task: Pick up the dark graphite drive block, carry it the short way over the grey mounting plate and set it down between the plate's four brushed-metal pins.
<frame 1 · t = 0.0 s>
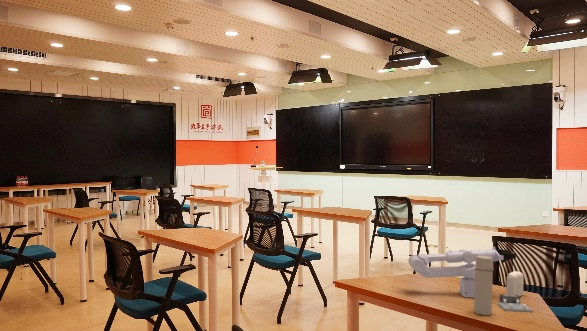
hand: (512, 254, 221), 22 cm above the table, tool horizontal, fingers open, 7 cm apart
drive: (509, 303, 211), on the table
photo printer: (514, 296, 224), on the table
grey mounting plate: (514, 308, 203), on the table
water bottle: (483, 313, 196), on the table
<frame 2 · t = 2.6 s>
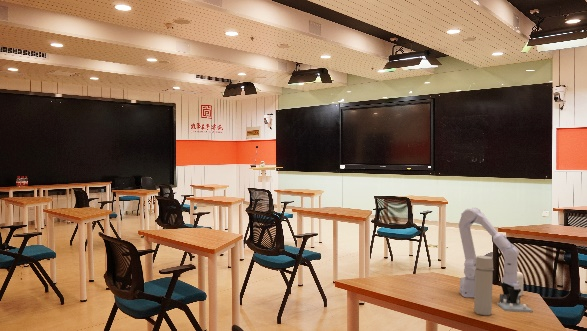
hand: (509, 300, 211), 1 cm above the table, tool pointing down, fingers open, 7 cm apart
nothing on the table moved.
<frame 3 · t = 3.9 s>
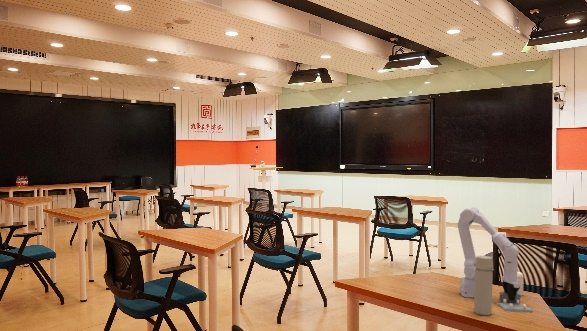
hand: (509, 298, 211), 2 cm above the table, tool pointing down, fingers closed on drive, 4 cm apart
drive: (509, 301, 211), point 1 cm above the table, touching gripper
everything else where it was.
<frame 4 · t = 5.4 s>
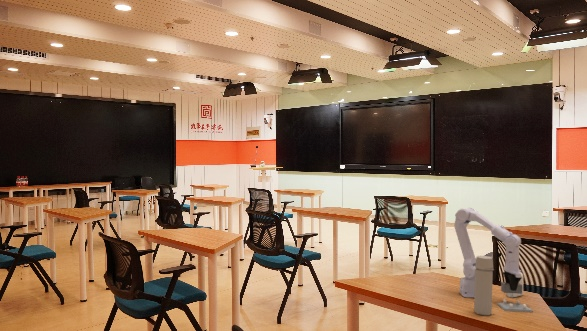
hand: (511, 289, 209), 7 cm above the table, tool pointing down, fingers closed on drive, 4 cm apart
drive: (511, 292, 209), point 6 cm above the table, touching gripper
everything else where it was.
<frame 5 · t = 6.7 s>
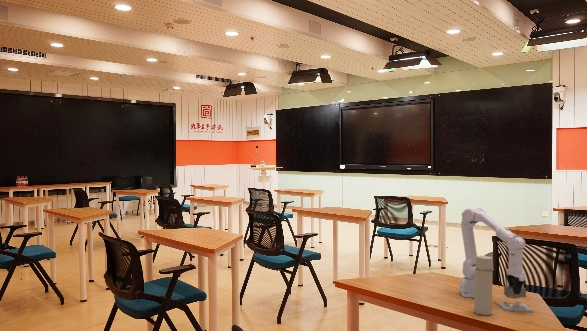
hand: (514, 292, 203), 7 cm above the table, tool pointing down, fingers closed on drive, 4 cm apart
drive: (514, 295, 203), point 6 cm above the table, touching gripper
everything else where it was.
when the fingers open (4 cm above the table, at t = 7.8 s): drive drops 1 cm, resting on grey mounting plate.
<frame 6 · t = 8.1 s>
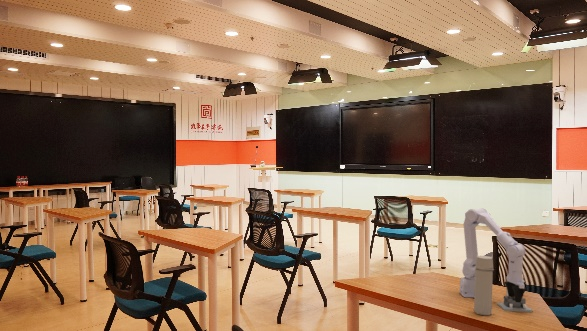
hand: (514, 299, 203), 4 cm above the table, tool pointing down, fingers open, 6 cm apart
drive: (514, 306, 203), point 1 cm above the table, touching grey mounting plate
everything else where it was.
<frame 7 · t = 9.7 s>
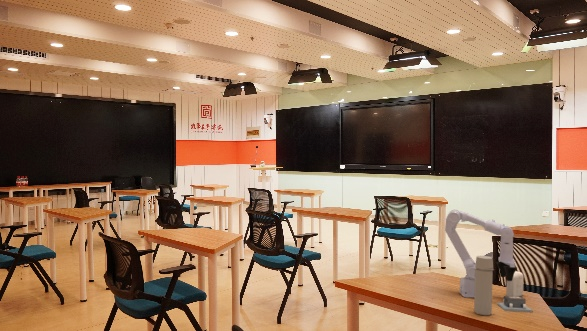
hand: (506, 278, 216), 10 cm above the table, tool pointing down, fingers open, 7 cm apart
nothing on the table moved.
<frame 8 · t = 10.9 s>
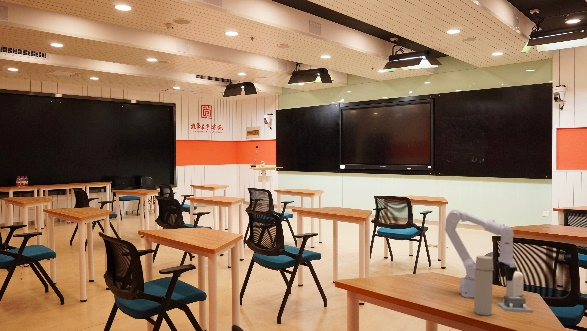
hand: (506, 278, 216), 10 cm above the table, tool pointing down, fingers open, 7 cm apart
nothing on the table moved.
at the end: drive 0.0 cm off-centre on the grey mounting plate, point 1.0 cm above the grey mounting plate's base; drive tilted 0°; the gripper is holding nothing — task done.
